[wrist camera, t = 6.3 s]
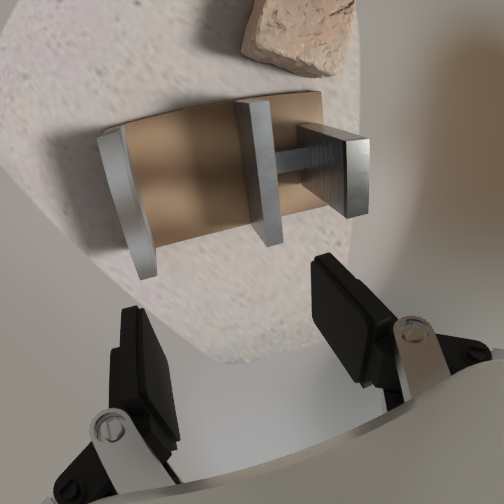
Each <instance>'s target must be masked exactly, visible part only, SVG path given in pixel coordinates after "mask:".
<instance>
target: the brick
mask: <svg viewBox="0 0 504 504" xmlns="http://www.w3.org/2000/svg"><path fill="white" fill-rule="evenodd" d="M355 5H356V0H254V5H253V10H252V13H251V15H250V17H249V20H248V23H247V25H246V28H245V33H244V39H243V42H242V47H241V52H242V54H244V55H246V56H247V57H249V58H252V59H254V60H256V61H259V62H263V63H272V64H274V65H276V66H278V67H281V68H283V69H286V70H289V71H291V72H292V73H294V74H297V75H301V76H305V77H308V78H317V77H319V78H324V77H331V76H334V75H337V73H338V72H339V70H340V69H341V65H342V62H343V59H344V56H345V53H346V50H347V46H348V43H349V39H350V34H351V23H352V21H353V10H354V9H355Z"/></svg>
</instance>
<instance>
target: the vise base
mask: <svg viewBox="0 0 504 504" xmlns="http://www.w3.org/2000/svg"><path fill="white" fill-rule="evenodd" d="M244 99H259V100H267V101H269V105H270V114H271V122H272V131H273V140H274V149H280V148H286V147H292V146H298V137H297V126H296V125H301V124H309V123H318V124H322V125H324V123H323V110H322V97H321V92H320V91H311V92H298V93H287V94H277V95H268V96H259V97H252V98H244ZM244 99H238V100H244ZM238 100H231V101H225V102H219V103H213V104H208V105H202V106H197V107H192V108H187V109H182V110H178V111H173V112H169V113H164V114H160V115H156V116H152V117H148V118H144V119H140V120H136V121H132V122H129V123H125V124H122V125H118V126H115V127H111V128H108V129H105V130H103V131H101V132H102V134H101V135H99V136H98V137H97V142H98V147H99V151H100V155H101V158H102V162H103V166H104V170H105V174H106V177H107V181H108V184H109V188H110V191H111V195H112V198H113V201H114V205H115V208H116V211H117V214H118V218H119V221H120V224H121V227H122V230H123V233H124V236H125V239H126V242H127V245H128V248H129V251H130V254H131V256H132V259H133V262H134V265H135V268H136V270H137V273H138V276H139V278H140V280H143V279H147V278H151V277H155V276H157V264H156V248H157V247H160V246H164V245H168V244H172V243H176V242H179V241H183V240H187V239H191V238H195V237H199V236H203V235H207V234H211V233H215V232H219V231H223V230H227V229H231V228H235V227H239V226H243V225H247V224H251V220H250V212H249V205H248V198H247V191H246V184H245V177H244V169H243V162H242V155H241V148H240V141H239V134H238V127H237V120H236V113H235V105H234V101H238ZM277 179H278V189H279V200H280V211H281V216H284V215H289V214H293V213H297V212H302V211H306V210H310V209H315V208H319V207H323V206H327V203H325V202H324V201H323V200H321V199H320V198H319V197H317V196H316V195H314V194H313V193H312V192H310V191H309V190H307V189H306V188H305V187H303V186H302V185H301V176H300V170H295V171H290V172H285V173H280V174H277Z"/></svg>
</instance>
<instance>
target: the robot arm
mask: <svg viewBox="0 0 504 504" xmlns="http://www.w3.org/2000/svg"><path fill="white" fill-rule="evenodd" d="M311 295H312V318H313V321H314V323H315V325H316V326H317V327H318V329H319V330H320V332H321V333H322V335H323V336H324V338H325V339H326V341H327V342H328V344H329V345H330V347H331V348H332V350H333V351H334V353H335V354H336V355H337V357H338V358H339V360H340V361H341V363H342V364H343V366H344V367H345V369H346V370H347V372H348V373H349V375H350V376H351V378H352V379H353V381H354V382H355V383H358V382H359V383H360V384H361V386H362V387H363V388H366V387H368V386H370V385H372V384H373V385H374V386H375V387H377V388H379V392H380V399H381V405H382V410H383V415H381V416H379V417H377V418H375V419H373V420H371V421H369V422H367V423H365V424H363V425H360V426H358V427H356V428H354V429H352V430H350V431H347V432H345V433H343V434H341V435H338V436H336V437H334V438H331V439H329V440H326V441H325V442H322V443H319V444H317V445H314V446H312V447H309V448H307V449H304V450H301V451H298V452H295V453H293V454H290V455H287V456H284V457H281V458H278V459H275V460H272V461H269V462H266V463H263V464H259V465H256V466H253V467H249V468H246V469H243V470H239V471H235V472H231V473H228V474H224V475H219V476H215V477H211V478H206V479H202V480H197V481H192V482H187V483H184V482H183V481H182V480H181V478H180V477H179V476H178V474H177V473H176V472H175V470H174V469H173V467H172V466H171V465H170V463H169V462H168V459H169V458H170V456H171V455H172V453H171V451H174V450H177V445H176V442H177V441H180V433H179V428H178V423H177V417H176V411H175V405H174V399H173V393H172V386H171V380H170V374H169V373H170V372H169V366H168V362H167V359H166V356H165V354H164V352H163V350H162V348H161V346H160V343H159V342H158V339H157V337H156V335H155V333H154V330H153V328H152V326H151V324H150V321H149V319H148V317H147V314H146V312H145V310H144V308H141V309H139V308H138V306H132V307H128V308H124V309H122V312H121V329H120V347H118V348H113V349H112V350H111V354H110V375H109V409H106V410H103V411H101V412H100V413H98V414H97V415H96V416H95V417H94V418H93V420H92V422H91V424H90V430H89V433H90V437H91V440H92V441H91V442H90V443H89V445H88V446H87V447H86V448H85V449H84V450H83V451H82V452H81V454H79V456H78V457H77V458H76V459H75V460H74V461H73V462H72V463H71V464H70V465H69V466H68V467H67V469H66V470H65V471H64V472H63V473H62V474H61V475H60V476H59V477H58V479H57V480H56V482H55V484H54V488H53V489H54V491H53V494H54V496H53V497H52V498H49V497H47V498H46V499H45V500H44V501H43V502H42V503H41V504H504V349H497V348H493V349H492V351H490V350H489V348H488V347H487V346H486V345H485V344H483V343H482V342H480V341H476V340H471V339H464V338H459V337H453V336H447V335H440V334H435V332H434V330H433V328H432V326H431V325H430V323H429V322H428V321H426V320H425V319H423V318H421V317H418V316H405V317H402V318H400V319H398V318H397V317H395V315H394V314H393V313H392V312H391V311H390V310H389V309H388V308H387V307H386V306H385V305H384V304H383V303H382V302H381V301H380V300H379V299H378V298H377V297H376V296H375V295H374V294H373V292H372V291H371V290H370V289H369V288H368V287H367V286H366V285H365V284H364V283H363V282H361V281H360V280H359V279H356V278H355V277H354V276H353V275H352V274H351V273H350V272H349V271H348V270H347V269H346V268H345V267H344V266H343V265H342V264H341V263H340V262H339V261H338V260H337V259H336V258H335V257H334V256H333V255H332V254H331V253H325V254H322V255H319V256H316V257H315V258H314V261H312V262H311Z"/></svg>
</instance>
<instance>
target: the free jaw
mask: <svg viewBox="0 0 504 504" xmlns="http://www.w3.org/2000/svg"><path fill="white" fill-rule="evenodd" d="M234 105H235V113H236V120H237V127H238V134H239V141H240V148H241V155H242V162H243V169H244V177H245V184H246V191H247V198H248V205H249V212H250V220H251V225H252V227H253V228H254V230H255V231H256V232H257V234H258V235H259V237H260V238H261V240H262V241H263V242H264V244H265V245H266V247H269V246H273V245H277V244H281V243H283V233H282V222H281V211H280V200H279V189H278V179H277V174H280V173H285V172H290V171H295V170H300V176H301V185H302V186H303V187H305V188H306V189H307V190H309V191H310V192H312V193H313V194H314V195H316V196H317V197H319V198H320V199H321V200H323V201H324V202H325V203H327V204H328V205H329V206H331V207H332V208H333V209H335V210H336V211H337V212H339V213H340V214H341V215H343V216H344V217H345V218H347V219H348V218H352V217H356V216H360V215H364V214H368V203H369V139H368V138H365V137H362V136H359V135H356V134H353V133H349V132H346V131H343V130H339V129H336V128H333V127H329V126H326V125H322V124H318V123H309V124H301V125H296V126H297V137H298V146H292V147H286V148H280V149H274V140H273V131H272V122H271V114H270V105H269V101H267V100H259V99H244V100H238V101H234Z"/></svg>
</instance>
